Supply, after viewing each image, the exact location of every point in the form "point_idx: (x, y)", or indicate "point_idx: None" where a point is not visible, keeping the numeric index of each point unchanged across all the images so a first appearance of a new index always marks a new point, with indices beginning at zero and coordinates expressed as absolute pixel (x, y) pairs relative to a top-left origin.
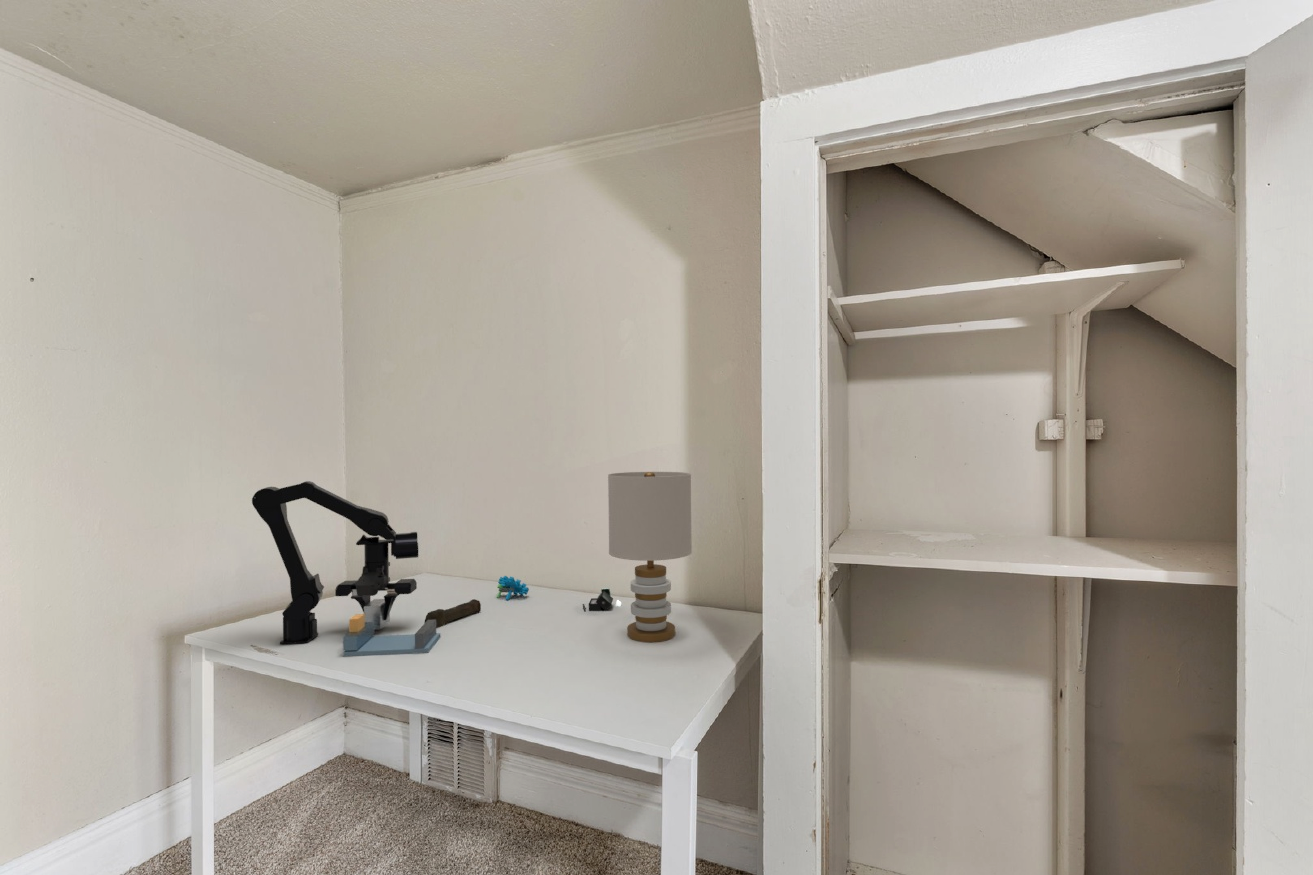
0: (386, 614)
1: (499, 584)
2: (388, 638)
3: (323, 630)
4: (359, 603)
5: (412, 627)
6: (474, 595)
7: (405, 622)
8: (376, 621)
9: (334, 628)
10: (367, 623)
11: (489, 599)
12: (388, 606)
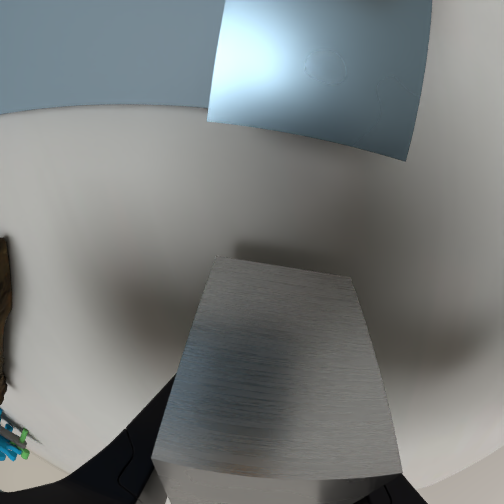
0: (168, 390)
1: (23, 456)
2: (103, 25)
3: (491, 365)
4: (422, 499)
5: (80, 310)
6: (83, 464)
7: (151, 387)
8: (241, 306)
9: (456, 382)
10: (305, 57)
11: (34, 431)
12: (117, 443)
